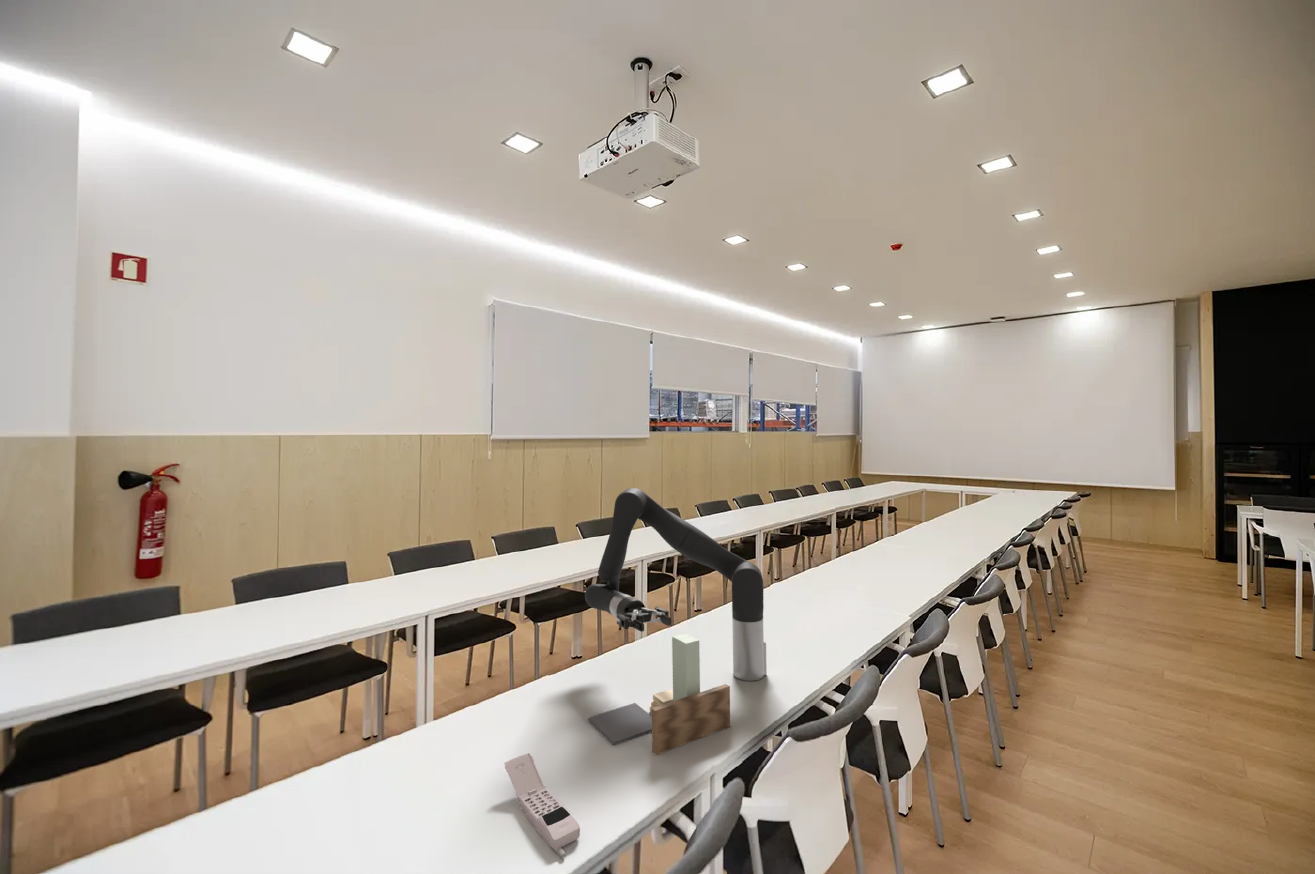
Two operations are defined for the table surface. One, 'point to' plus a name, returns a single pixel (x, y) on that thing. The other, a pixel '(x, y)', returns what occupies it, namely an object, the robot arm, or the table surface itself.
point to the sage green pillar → (685, 666)
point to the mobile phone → (541, 804)
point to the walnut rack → (690, 718)
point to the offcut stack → (661, 698)
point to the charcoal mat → (623, 723)
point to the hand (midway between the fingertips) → (656, 624)
